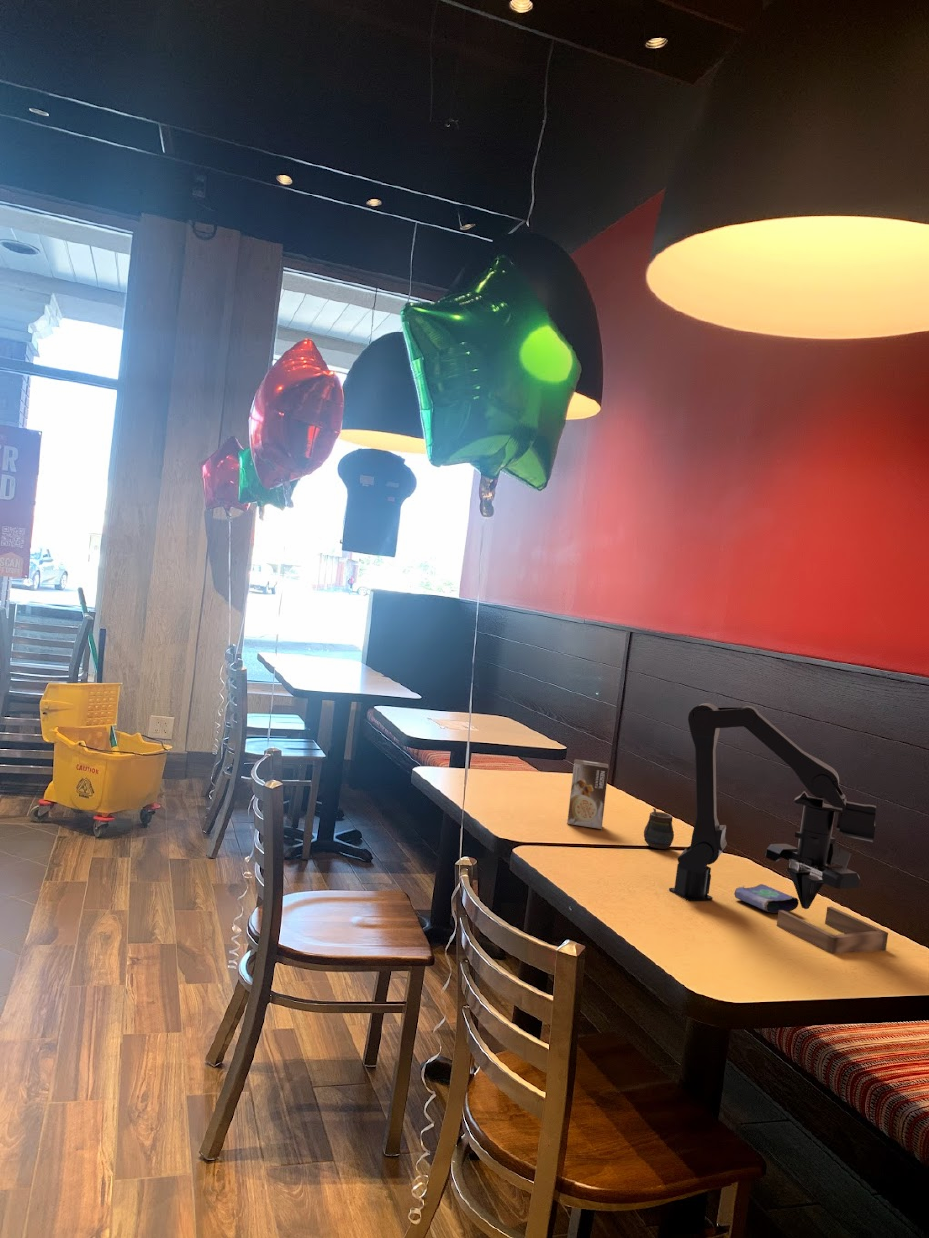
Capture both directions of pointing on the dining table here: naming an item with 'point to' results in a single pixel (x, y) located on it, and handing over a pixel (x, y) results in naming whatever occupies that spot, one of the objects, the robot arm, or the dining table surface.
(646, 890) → the dining table surface
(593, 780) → the coffee box
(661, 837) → the mate gourd
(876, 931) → the walnut u-shaped fence
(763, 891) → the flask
